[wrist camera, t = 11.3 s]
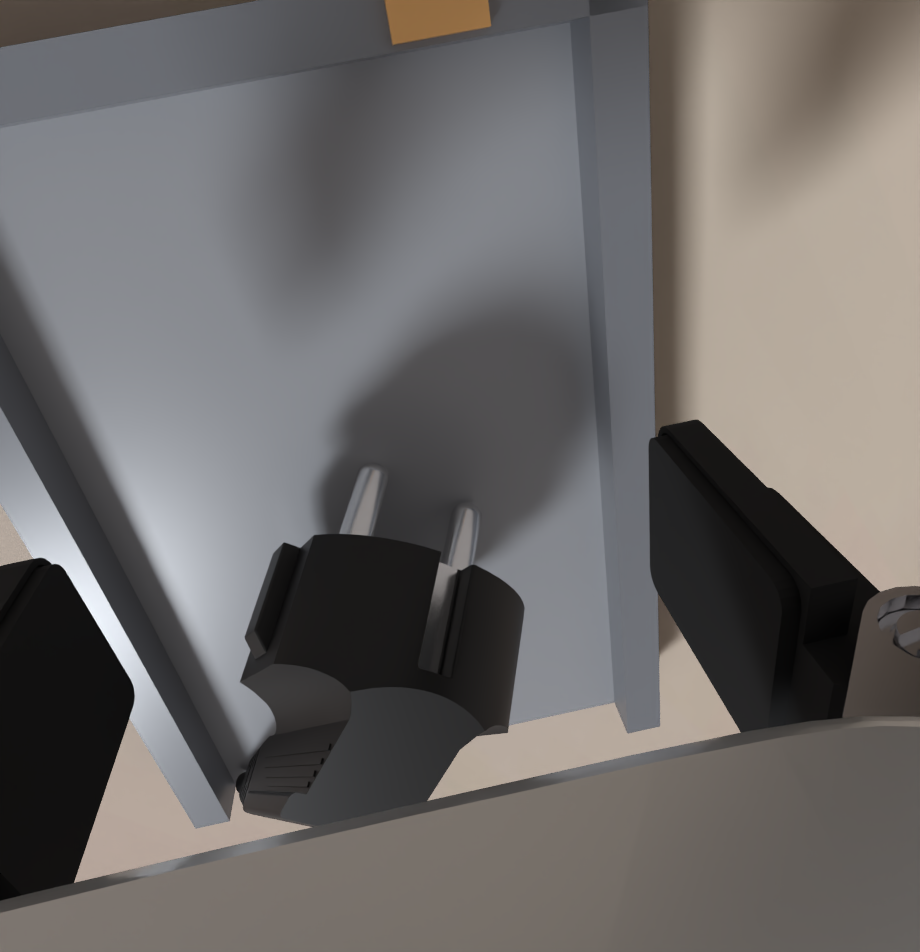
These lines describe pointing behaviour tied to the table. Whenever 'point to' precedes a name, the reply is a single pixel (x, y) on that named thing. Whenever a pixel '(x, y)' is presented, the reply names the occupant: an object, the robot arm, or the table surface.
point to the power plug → (375, 664)
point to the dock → (331, 330)
